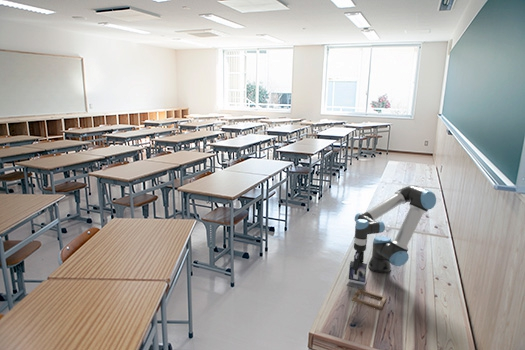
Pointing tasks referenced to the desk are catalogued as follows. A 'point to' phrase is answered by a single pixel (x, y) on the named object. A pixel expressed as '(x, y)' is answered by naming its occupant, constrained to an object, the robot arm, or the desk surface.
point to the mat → (356, 284)
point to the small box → (361, 272)
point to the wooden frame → (378, 307)
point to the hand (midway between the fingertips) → (357, 275)
